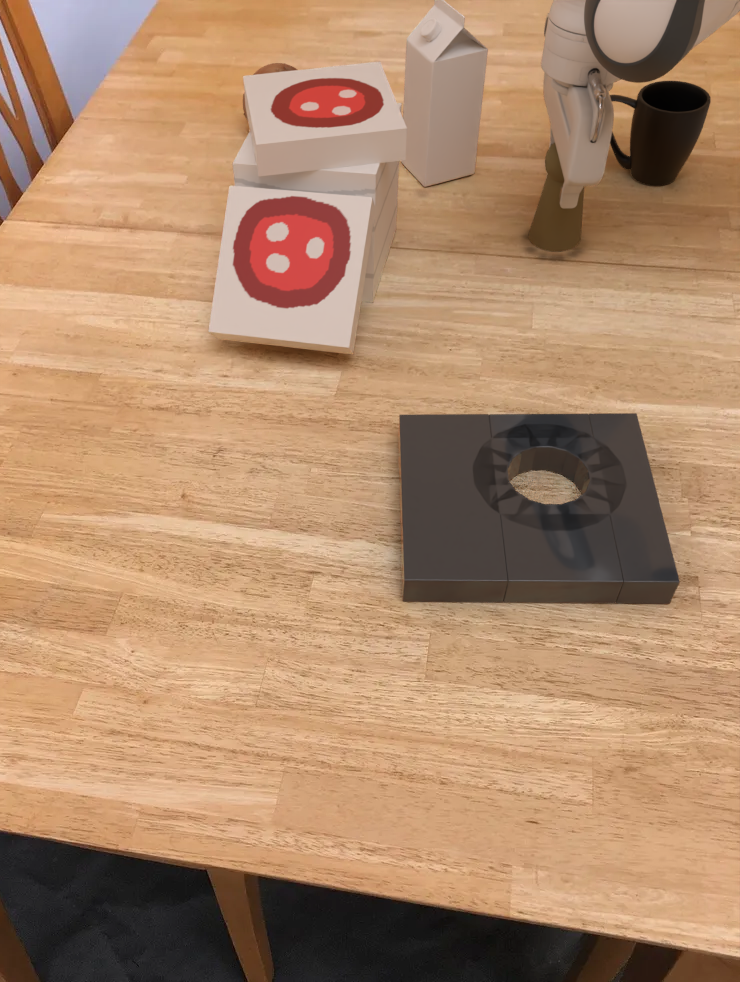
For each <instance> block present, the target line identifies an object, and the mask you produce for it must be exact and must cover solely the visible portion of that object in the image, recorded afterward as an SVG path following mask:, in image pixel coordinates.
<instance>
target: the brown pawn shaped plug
mask: <svg viewBox="0 0 740 982" xmlns="http://www.w3.org/2000/svg"><path fill="white" fill-rule="evenodd" d="M544 169H545V172H546V177H545V181H544V183H543V186H542V189H541V193H540V196H539V200H538V203H537V206H536V209H535V211H534V215H533V217H532V218H533V219H532V222H531V225H530V229H529V230H528V231H529V232H528V240H529V242H530V243H531V244H532V245H533V246H534V247H536V248H538V249H540V250H543V251H548V252H558V253H559V252H566V251H570V250H572V249H574V248H576V247H577V246H578V245H580V242H581V239H582V228H583V226H582V225H583V213H584V201H585V199H584V197H585V186H584V187H583V189H582V190H581V192H580V194H579V198H578V202H577V205H576V207H574V208H561V206H560V202H559V195H560V189H561V186H563V184H564V176H563V172H562V168H561V164H560V160H559V156H558V152H557V148H556V144H555V142H554V143H553V144H552V145H551V146H550V147H549V146H548V149H547V151H546V153H545V157H544Z"/></svg>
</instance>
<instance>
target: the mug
mask: <svg viewBox="0 0 740 982" xmlns="http://www.w3.org/2000/svg"><path fill="white" fill-rule="evenodd" d="M609 95H610V98H611V101H612V102H615V103H616V102H617V103H621V104H624V105H627V106H628V107H631V108H633V113H632V117H631V126H630V132H629V133H630V134H629V135H630V136H629V155H628V154H626V153H624V152H623V150H622V149H621V148H620V146H619V144H618V142H617V140H616V137H615V135H614V132H613V131H612V135H611V141H610V148H611V150H612V152H613V155H614V157H615V160H616V162H617V163H618V164H619V166H620V167H621V168H623V169H624V170H628V171H630V176H631V178H632V179H633V180H634V181H636V182H638V183H639V184H642V185H645V186H650V187H651V186H653V187H662V186H667V185H670V184H671V183H674V182H675V181H676V179H677V177H678V175H679V173H680V172H681V170H682V169H683V167H684V166H685V165H686V162H687V161H688V159H689V158H690V156H691V154H692V152H693V150H694V149H695V146H696V144H697V142H698V140H699V138H700V136H701V133H702V132H703V131H702V130H703V128H704V126H705V122H706V119H707V116H708V112H709V110H710V107H711V101H712V99H711V95H710V93H709V92H708V91H707V90H706V89H704V88H703V87H701V86H699V85H696V84H694V83H690V82H687V81H680V80H659V81H654V82H651V83H648V84H646V85H644V86H643V87H642V88H641V89H640V90H639V91H638V93H637V96H636V99H635V98H632V97H628V96H625V95H622V94H621V95H619V94H609Z"/></svg>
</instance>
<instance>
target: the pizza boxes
mask: <svg viewBox="0 0 740 982" xmlns="http://www.w3.org/2000/svg"><path fill="white" fill-rule="evenodd" d="M242 81H243V94H244V95H245V107H246V112H247V118H248V121H247V123H248V127H249V132H248V134H246V137H245V139H244V141H243V143H242V144H241V146H240V148H239V150H238V152H237V154H236V155H235V158H234V159H233V161H232V164H231V165H232V173H233V182H234V183H233V184H234V185H229V186H228V191H227V199H226V205H225V214H224V220H223V227H222V234H221V241H220V247H219V254H218V261H217V268H216V274H215V283H214V289H213V297H212V303H211V309H210V316H209V317H210V318H209V325H208V330H207V332H208V333H209V334H210V335H212V336H213V337H214V338H215V339H216V340H224V341H230V342H231V341H232V342H241V343H251V344H258V345H259V344H260V345H267V346H275V347H284V348H291V349H293V348H294V349H302V350H308V351H309V350H311V351H319V352H328V353H336V354H345V355H354V352H355V345H356V338H357V332H358V326H359V319H360V312H361V306H362V303H372V304H373V303H374V301H375V298H376V294H377V292H378V288H379V285H380V282H381V279H382V275H383V273H384V269H385V267H386V263H387V259H388V257H389V254H390V250H391V247H392V244H393V240H394V237H395V235H396V232H397V221H398V220H397V219H398V197H399V176H400V175H399V174H400V162H401V161H403V160H405V155H406V137H407V127H406V124H405V122H404V119H403V113H402V105H403V103H402V102H397V100H396V97H395V94H394V92H393V89H392V87H391V85H390V84H391V83H390V82H389V79H388V77H387V75H386V72H385V69H384V67H383V64H382V62H381V61H380V60H379V61H370V62H369V61H368V62H361V63H351V64H350V63H349V64H342V65H341V64H340V65H332V66H323V67H314V68H305V69H297V70H294V71H285V72H275V73H266V74H256V75H253V74H249V75H242Z"/></svg>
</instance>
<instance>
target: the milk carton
mask: <svg viewBox="0 0 740 982" xmlns="http://www.w3.org/2000/svg"><path fill="white" fill-rule="evenodd" d="M465 21H466V15H465V16H464V15H463V14H462V13H461V12H460V11H458V9H456V8H454V6H452V5H451V4H449V3H448V2H447V1H446V0H434V3H433V5H432V7H431V8H430V9H429V10H428V11H427V12H426V13H425V15H424V16H423V17H422V18H421V20H420V21H419V22H418V23H417V25H416V26H415V28H413V30H412V31H411V32H410V33H409V35H408V36H407V37H406V42H405V58H404V60H405V61H404V80H403V81H404V86H403V103H402V105H403V109H402V117H403V119H404V122H405V124H406V127H407V137H406V155H405V160H403V161H400V162H401V164H402V165H403V166H404V167H405V168H406V169H407V170H408V172H410V174H412V176H414V178H415V179H416V180H417V181H418V182H419V183H420V184H421V186H423V187H424V188H426V187H430V186H431V187H432V186H434V185H437V184H438V185H439V184H443V183H445V182H449V181H453V180H457V179H460V178H464V177H469V176H471V175H475V171H476V163H477V156H478V146H479V135H480V127H481V117H482V110H483V109H482V108H483V99H484V90H485V81H486V71H487V63H488V53H489V48H488V47H486V45H484V44H483V43H482V42H481V41H480V40H479V39H477V37H476V36H474V35H473V34H472V33H471V32H470V31H468V29H466V28H465Z"/></svg>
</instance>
